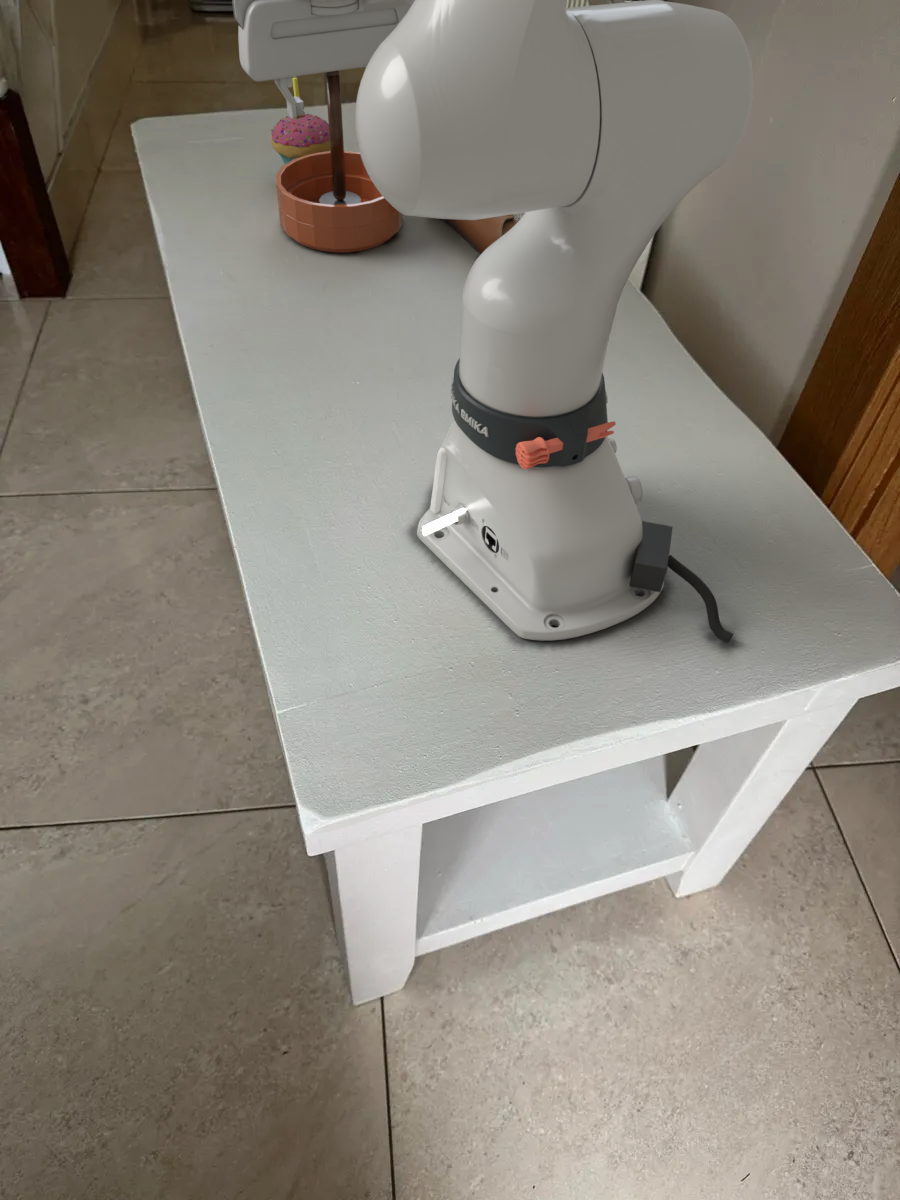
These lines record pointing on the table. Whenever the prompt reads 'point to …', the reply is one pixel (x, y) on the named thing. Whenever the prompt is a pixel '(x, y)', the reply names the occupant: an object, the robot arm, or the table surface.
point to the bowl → (333, 206)
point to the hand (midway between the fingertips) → (335, 110)
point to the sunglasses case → (483, 230)
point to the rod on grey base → (336, 145)
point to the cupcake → (300, 135)
